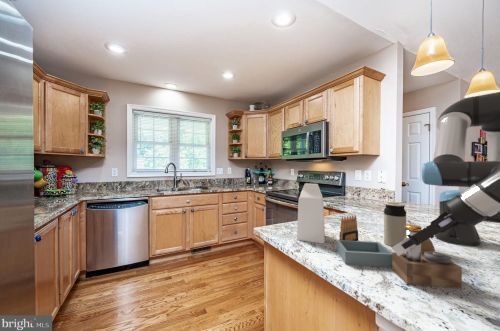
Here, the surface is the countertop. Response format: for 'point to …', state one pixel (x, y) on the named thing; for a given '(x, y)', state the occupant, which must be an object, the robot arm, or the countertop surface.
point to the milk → (311, 215)
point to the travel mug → (394, 223)
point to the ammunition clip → (349, 229)
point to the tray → (364, 253)
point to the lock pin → (415, 252)
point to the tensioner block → (428, 270)
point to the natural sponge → (426, 246)
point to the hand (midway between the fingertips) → (401, 247)
